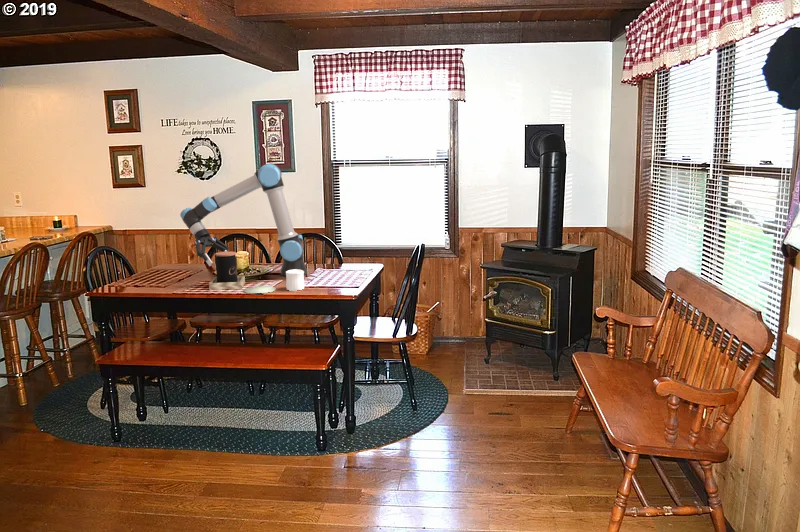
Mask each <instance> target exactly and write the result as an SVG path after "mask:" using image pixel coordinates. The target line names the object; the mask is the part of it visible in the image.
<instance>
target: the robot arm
mask: <svg viewBox="0 0 800 532" xmlns="http://www.w3.org/2000/svg"><path fill="white" fill-rule="evenodd" d="M282 175H283V174H282V170H281V169H280V167H279V166H278V165H276V164H275V163H267V164H264V165H262V166H261V167H260V168H259V170H257V171H255V172H254V174H253V175H252V176H250V177H247V178H245V179H243V180H242V181H240V182H238V183H236V184H234V185H232V186H230V187H229V188H227V189H225V190H222V191H221V192H219V193H216V194H215V195H212V196H211V197H210V196H206V198H205V197H204V199H202V201H200V202H199V203H198V204H196V205H195V207H193V208H192V207H186V208H184V209H183V210H182V211H181V212H180V214H179V216H180V218H181V220H182V221H183V223H184V224H185V225H186V226H185V227H187V228H188V230H189V231H190V233H191V234H192V235H193V237H194V239H195V241H194V242H193V243H194V245H195V252H196V256H197V257H199V258H201V259H203V260H204V261H205V262H206V264H207V265H208V267H211V266H212V265H213V263H214V262H213V261H212V260H211V258H210V257H209V255H208V254H207V253H206V248H208V247H209V248H210V247H211V248H214V249H216V250H219V252H229V246H228V245H226V244H225V243H223V242H222V241H221V240H220V239H218V238H217V236H214V237H211V235H210V234H211V233H210V232H209V231H208V229H207V228H206V227H205V225H204V224H203V222H202V220H203V219H205V218H206V217H207V216H208V215H209V214H212V213H213V212H215V211H217V210H219V209H220V208H223V207H225V206H227V205H229V204H231V203H232V202H235V201H236V200H238V199H241V198H242V197H244V196H247V195H248V194H250V193H253V192H254V191H256V190H259V189H262V192H263V193H265V194H266V197H267V199H268V203H269V207H270V209H271V212H272V216H273V220H274V223H275V226H276V230H277V233H278V237H277V243H278V246H279V253H280V255H281V257H282V265H281V267H280V276H283V277H286V271H288V270H294V269H299V270H303V271H304V276H305V275H307V274H308V269H307V267H306V264H305V261H304V242H303V241H304V239H303V235H302V234H298V232H296V231H295V230H294V229H295V228H294V226H293V221H292V219H291V215H290V212H289V208H288V205H287V202H286V199H285V195H284V191H283V189H284V187H285V185H284V182H283V177H282Z"/></svg>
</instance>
